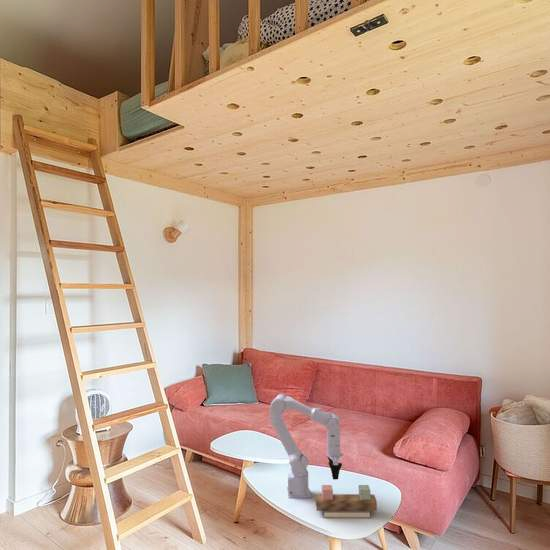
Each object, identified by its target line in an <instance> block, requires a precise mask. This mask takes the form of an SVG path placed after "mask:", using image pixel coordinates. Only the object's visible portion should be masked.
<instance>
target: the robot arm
mask: <svg viewBox="0 0 550 550" xmlns="http://www.w3.org/2000/svg"><path fill="white" fill-rule="evenodd" d="M291 410H294V411H296V412H298V413H300V414H304V415H306V416H308V417H309V418H310V420H311V421H313V422H316V423H317V424H319V425H322V426H324V427H326V429H327V432H326V440H327V441H326V442H327V443H326V445H327V449H326V450H327V453H326V457H327V458H328V466H329V468H330V471H331V476H332V477H331V478H332V479H333V480H339V475H340V471H341V468H342V466H343V464H342V463H343V462H339V460H340V458H341V457H343V456H344V453H343V452H341V433H340V432H341V431H340V425H341V418H340V417H339V415H337V414H336V413H331V412H327V411H325V410H322V408H321V407H313V408H312V407H310V406H307V405H306V404H304V403H302V402H300V401H298V400H296V399H295V398H292V397H291V396H290V395H286V394H284V393H279V394H278V395H276V397H275V398H274V399H273V400H272V401H271V403H270V406H269V421H270V423H271V426H272V427H273V429H274V431H275V432H276V435H277V436H278V438H279V441H280V442H281V444H282V446H283V448H284V450H285V452H286V453H287V456H288V460H289V461H288V462H289V465H290V470H291V472H288V473H287V486H286V488H287V494H288V495H287V497H288V499H311V494H310V493H311V492H310V487H309V471H308V466H309V458H308V457H307V456H306V455H305V454H304V453H303V451H302V450H301V449H299V447H298V446H297V444H296V441H295V440H294V438H293V436H292V434H291V433H290V431H289V429H288V427H287V425H286V423H285V421H284V419H283V415H284V412H286V411H291Z"/></svg>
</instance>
